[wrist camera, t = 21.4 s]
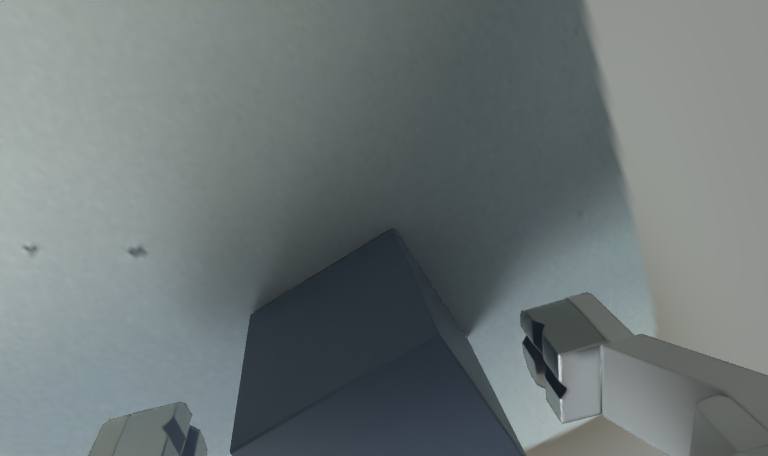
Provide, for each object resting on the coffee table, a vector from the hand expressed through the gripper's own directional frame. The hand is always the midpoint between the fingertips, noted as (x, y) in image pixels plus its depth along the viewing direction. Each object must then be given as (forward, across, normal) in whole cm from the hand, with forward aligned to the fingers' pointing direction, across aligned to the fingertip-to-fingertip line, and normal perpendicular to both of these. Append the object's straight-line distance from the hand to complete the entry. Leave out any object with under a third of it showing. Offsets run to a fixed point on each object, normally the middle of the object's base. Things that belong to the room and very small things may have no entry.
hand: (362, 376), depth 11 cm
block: (+2, 0, 0) cm, 2 cm away
